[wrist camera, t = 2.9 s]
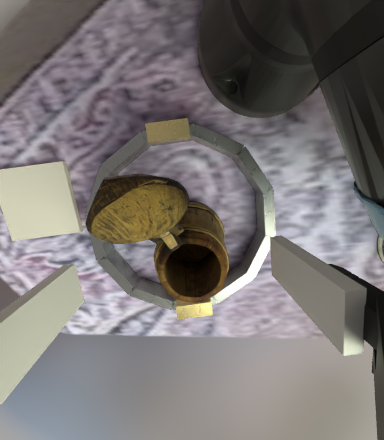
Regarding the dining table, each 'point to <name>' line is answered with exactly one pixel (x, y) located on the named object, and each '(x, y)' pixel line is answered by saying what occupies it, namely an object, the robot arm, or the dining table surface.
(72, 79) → the dining table surface
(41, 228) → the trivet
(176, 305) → the collar
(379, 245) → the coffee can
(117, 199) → the wooden mug
